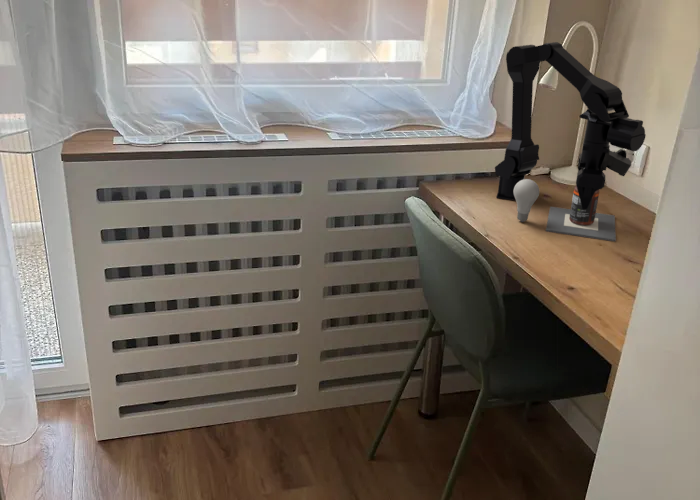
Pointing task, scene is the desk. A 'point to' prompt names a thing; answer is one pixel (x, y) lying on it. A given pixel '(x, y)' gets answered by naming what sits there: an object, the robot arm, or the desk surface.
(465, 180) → the desk surface
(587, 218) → the supplement bottle
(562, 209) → the card
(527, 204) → the lightbulb
